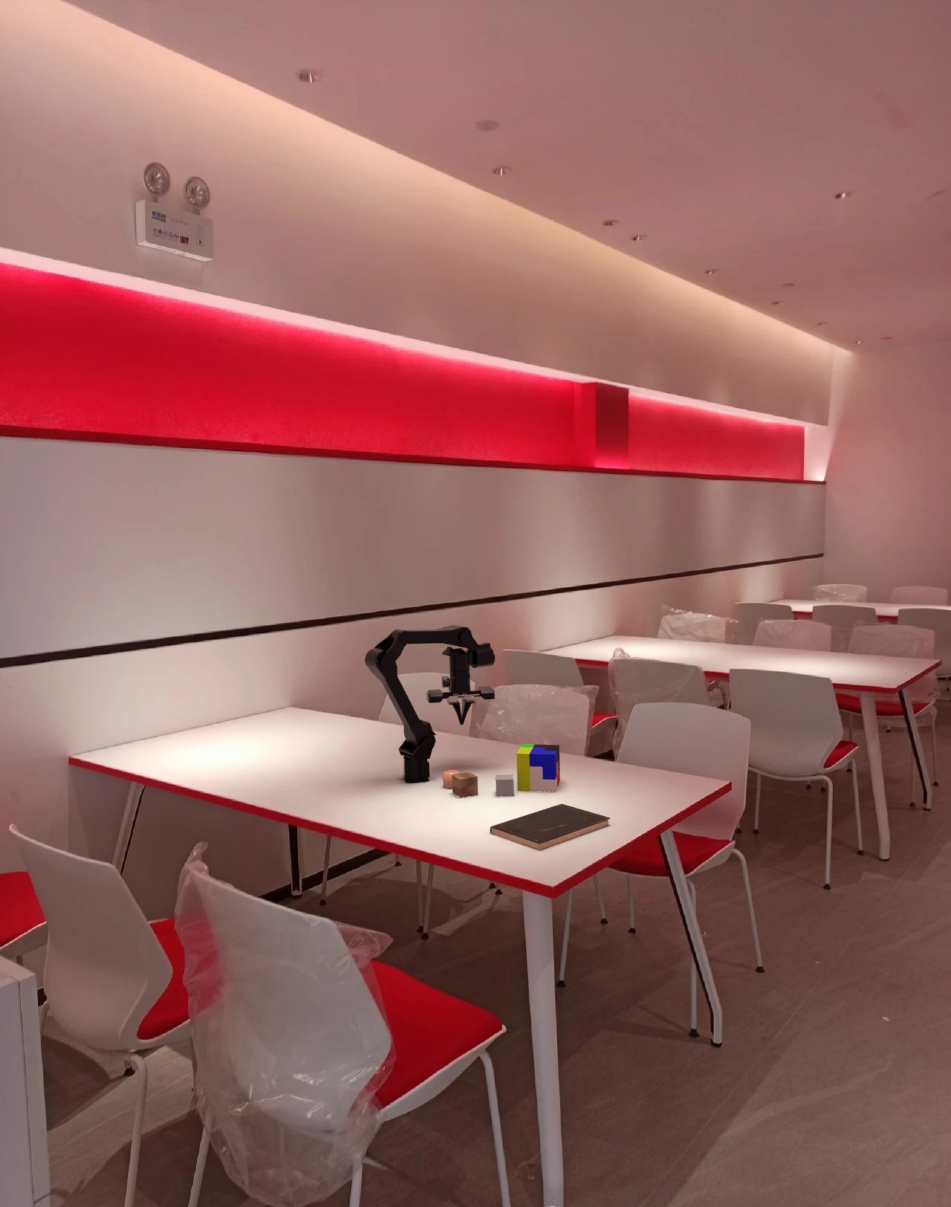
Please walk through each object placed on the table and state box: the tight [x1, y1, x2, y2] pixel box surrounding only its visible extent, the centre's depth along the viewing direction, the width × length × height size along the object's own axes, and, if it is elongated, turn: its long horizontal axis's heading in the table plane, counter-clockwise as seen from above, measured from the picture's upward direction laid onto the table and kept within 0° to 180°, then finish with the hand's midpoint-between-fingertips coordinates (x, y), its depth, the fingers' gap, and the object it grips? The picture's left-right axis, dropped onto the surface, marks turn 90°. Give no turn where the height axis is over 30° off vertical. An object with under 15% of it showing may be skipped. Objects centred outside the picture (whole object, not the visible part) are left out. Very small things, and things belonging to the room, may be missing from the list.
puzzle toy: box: [516, 743, 561, 793], centre depth 249 cm, size 10×10×10 cm
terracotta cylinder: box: [442, 769, 460, 790], centre depth 251 cm, size 4×4×4 cm
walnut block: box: [451, 771, 479, 799], centre depth 244 cm, size 5×5×5 cm
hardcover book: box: [489, 803, 611, 850], centre depth 216 cm, size 16×23×2 cm
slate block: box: [495, 774, 515, 797], centre depth 244 cm, size 4×4×4 cm
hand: (461, 724), depth 267 cm, fingers closed
